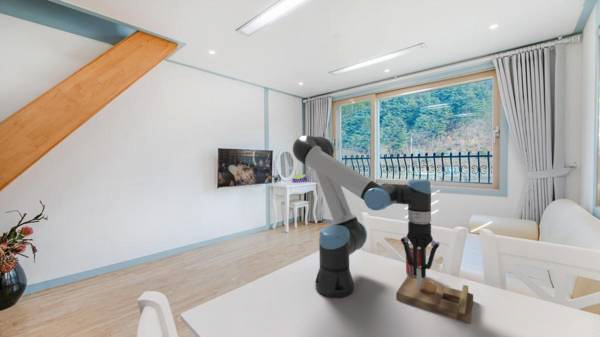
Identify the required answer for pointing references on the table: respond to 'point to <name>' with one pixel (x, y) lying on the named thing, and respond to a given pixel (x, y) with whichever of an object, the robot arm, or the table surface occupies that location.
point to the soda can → (409, 267)
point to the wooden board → (438, 299)
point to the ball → (430, 286)
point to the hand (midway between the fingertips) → (419, 285)
